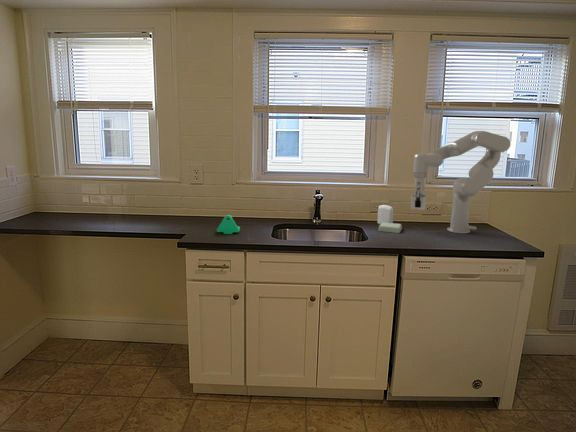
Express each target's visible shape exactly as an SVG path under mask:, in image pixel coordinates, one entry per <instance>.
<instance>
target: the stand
mask: <svg viewBox="0 0 576 432" xmlns="http://www.w3.org/2000/svg"><path fill="white" fill-rule="evenodd" d="M402 229H403V225H402V223H396V222H395V223H394V222H393V223H384V222H382V223H381V224H379V225H378V232H386V233H394V234H400V233H401V231H402Z"/></svg>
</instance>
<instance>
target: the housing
mask: <svg viewBox="0 0 576 432" xmlns="http://www.w3.org/2000/svg"><path fill="white" fill-rule="evenodd" d="M426 199H427V196H426V194H424V195H423V196H422V195H421V207H415V200H416V195H415V193H414V194H412V195H411V196H410V210H420V211H421V210H422V211H425V210H426V205H427V204H426V201H427V200H426Z"/></svg>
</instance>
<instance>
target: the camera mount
mask: <svg viewBox="0 0 576 432" xmlns="http://www.w3.org/2000/svg"><path fill="white" fill-rule="evenodd" d="M240 230H241V227H240V226H238V225H237V224H236V222H235V220H234V219H233V216H232V215H231V214H226V215H225V216H224V217H223V219H222V220H221V222H220V223H219V226H218V227H217V228H216V232H217V233H223V234H224V235H225V234H227V235H233V233H239V232H240Z"/></svg>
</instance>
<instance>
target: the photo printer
mask: <svg viewBox="0 0 576 432" xmlns="http://www.w3.org/2000/svg"><path fill="white" fill-rule="evenodd" d="M382 222H384V223H394V208H393V207H392V206H391V205H388V204H381V205H378V208H377V224H378V225H381V223H382Z"/></svg>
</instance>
